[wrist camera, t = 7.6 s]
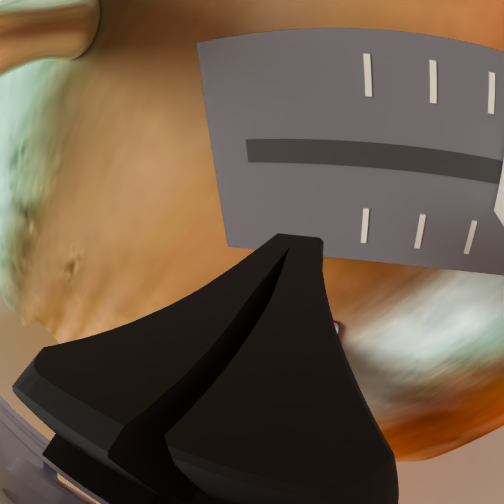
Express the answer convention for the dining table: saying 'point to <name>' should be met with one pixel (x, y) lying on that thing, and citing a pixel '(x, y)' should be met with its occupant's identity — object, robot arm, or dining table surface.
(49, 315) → the dining table surface
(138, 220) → the dining table surface
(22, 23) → the beer glass
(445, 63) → the console
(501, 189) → the fader tab
